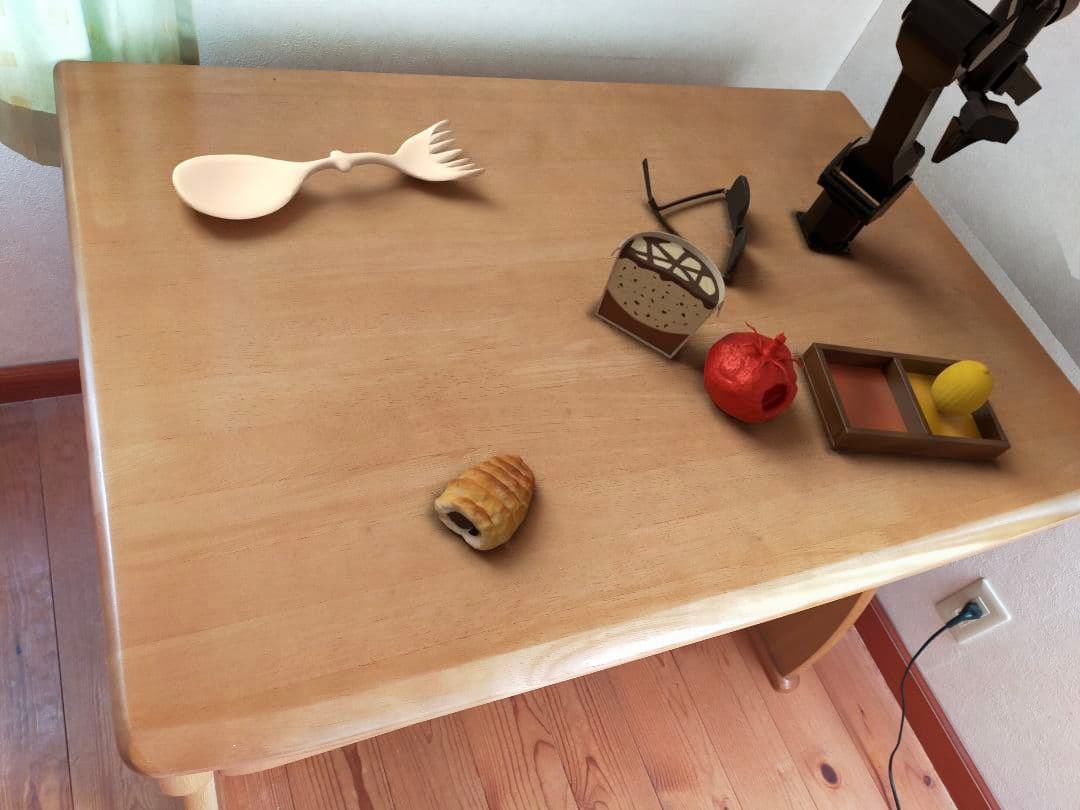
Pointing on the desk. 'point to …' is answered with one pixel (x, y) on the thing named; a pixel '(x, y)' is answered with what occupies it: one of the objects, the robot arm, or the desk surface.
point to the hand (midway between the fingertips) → (921, 138)
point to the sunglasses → (736, 207)
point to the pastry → (487, 501)
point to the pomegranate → (751, 375)
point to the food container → (661, 290)
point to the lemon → (962, 388)
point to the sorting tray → (893, 405)
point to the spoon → (303, 174)
